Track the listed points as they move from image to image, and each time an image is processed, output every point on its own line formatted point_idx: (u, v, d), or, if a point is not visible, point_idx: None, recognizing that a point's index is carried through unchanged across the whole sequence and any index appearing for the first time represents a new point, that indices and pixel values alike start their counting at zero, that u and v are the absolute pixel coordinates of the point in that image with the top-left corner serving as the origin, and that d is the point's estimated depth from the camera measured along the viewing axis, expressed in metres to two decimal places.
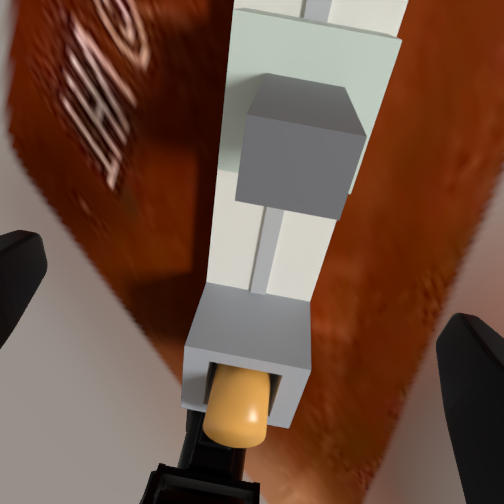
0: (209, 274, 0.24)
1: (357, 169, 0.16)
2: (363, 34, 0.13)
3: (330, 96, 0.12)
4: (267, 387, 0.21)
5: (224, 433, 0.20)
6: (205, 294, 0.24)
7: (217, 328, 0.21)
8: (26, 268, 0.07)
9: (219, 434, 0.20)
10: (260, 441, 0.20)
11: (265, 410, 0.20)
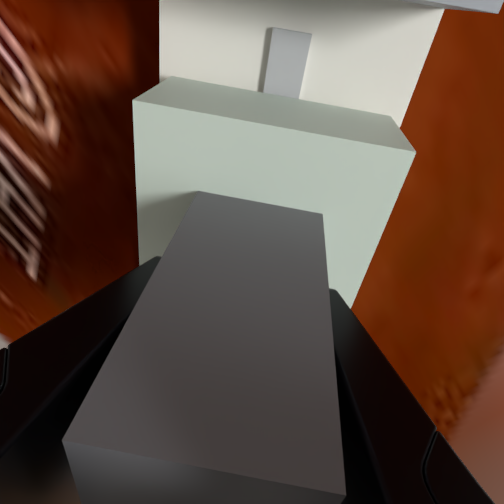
0: None
1: None
2: (351, 141, 0.08)
3: (292, 261, 0.07)
4: None
5: None
6: None
7: None
8: None
9: None
10: None
11: None
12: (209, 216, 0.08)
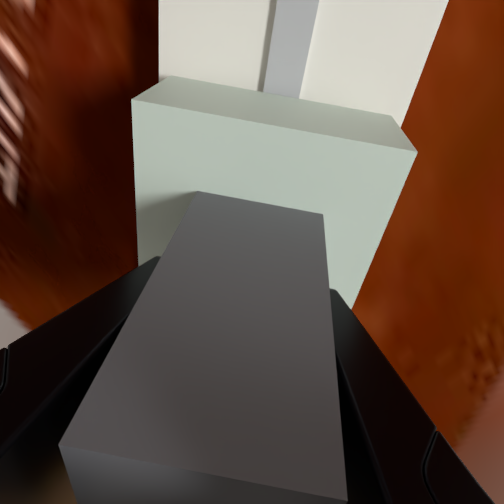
0: None
1: None
2: (351, 141, 0.08)
3: (292, 262, 0.07)
4: None
5: None
6: None
7: None
8: None
9: None
10: None
11: None
12: (209, 216, 0.08)
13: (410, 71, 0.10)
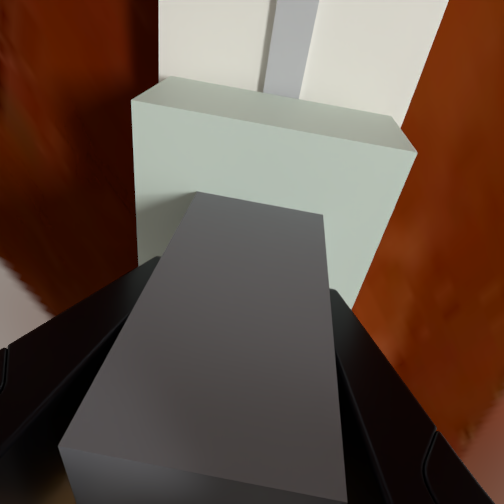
0: None
1: None
2: (351, 142, 0.08)
3: (292, 262, 0.07)
4: None
5: None
6: None
7: None
8: None
9: None
10: None
11: None
12: (208, 217, 0.08)
13: None
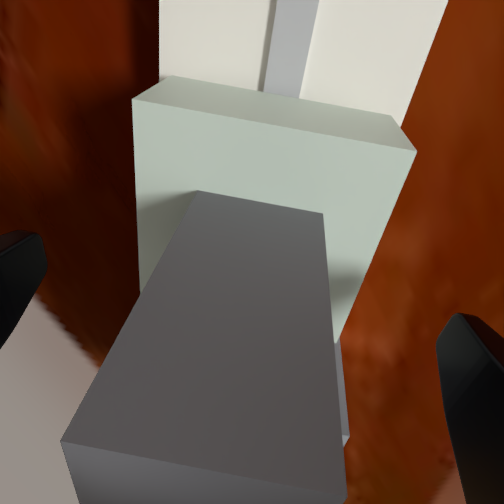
0: None
1: (345, 315, 0.10)
2: (351, 141, 0.08)
3: (292, 260, 0.07)
4: None
5: None
6: None
7: None
8: (26, 268, 0.07)
9: None
10: None
11: None
12: (209, 215, 0.08)
13: None
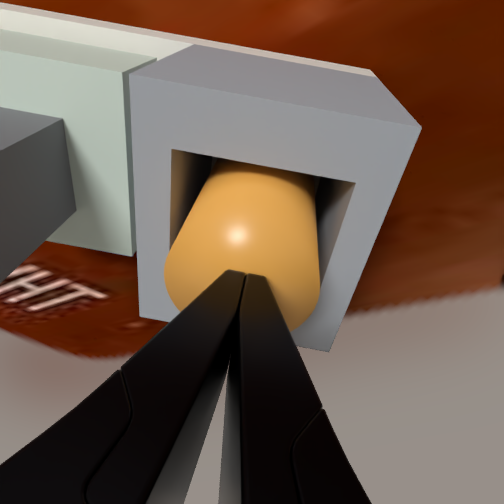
0: None
1: (78, 66, 0.10)
2: None
3: None
4: (228, 173, 0.09)
5: None
6: None
7: None
8: None
9: None
10: (276, 232, 0.07)
11: (218, 199, 0.08)
12: None
13: None
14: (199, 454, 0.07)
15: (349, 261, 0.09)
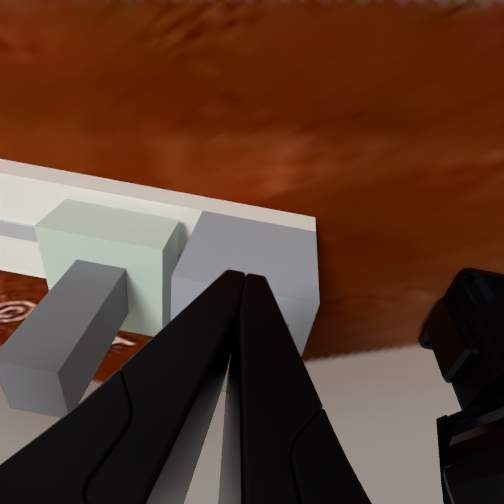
0: None
1: (137, 246, 0.17)
2: (40, 249, 0.18)
3: None
4: None
5: None
6: None
7: None
8: None
9: None
10: None
11: None
12: None
13: None
14: (199, 454, 0.07)
15: None
